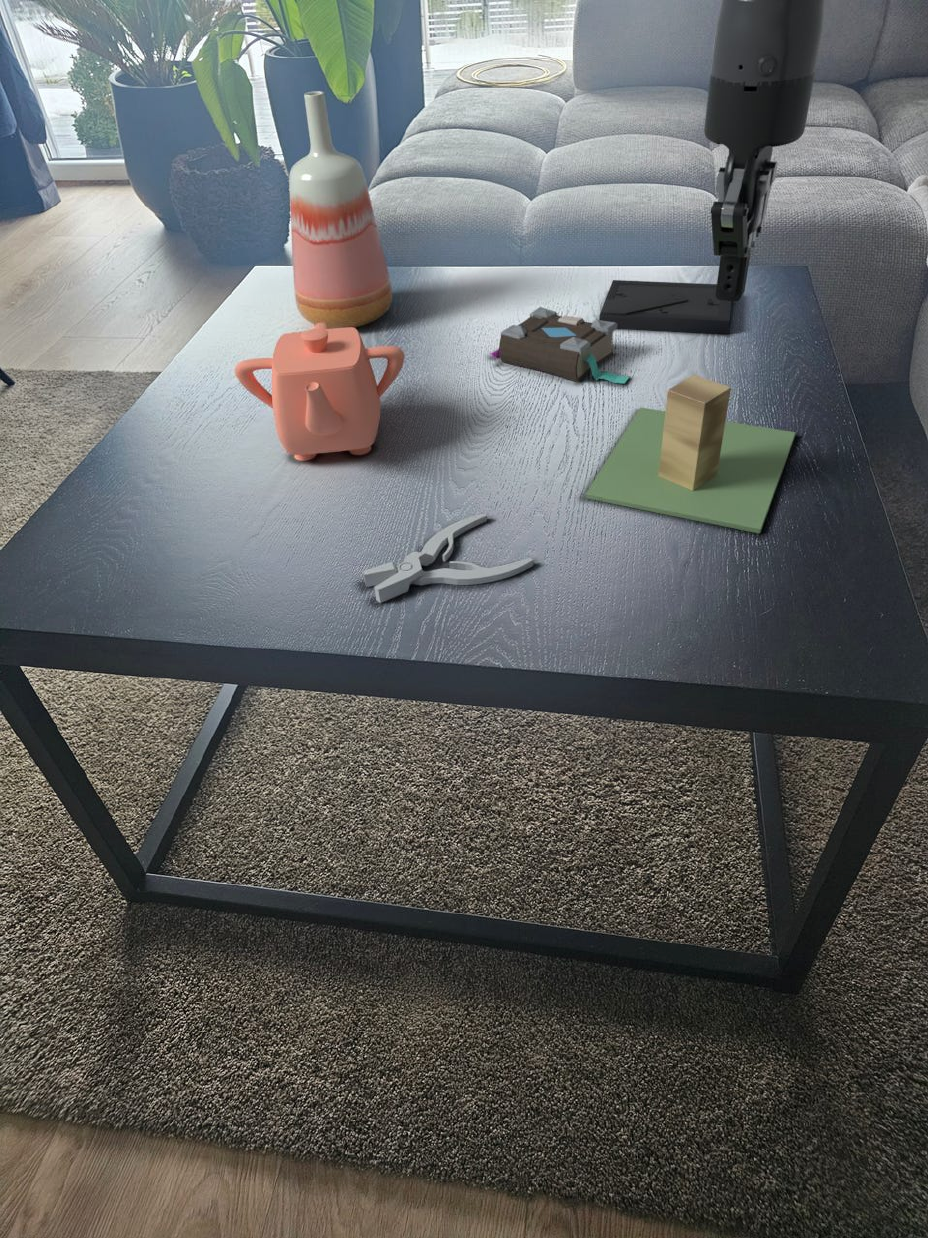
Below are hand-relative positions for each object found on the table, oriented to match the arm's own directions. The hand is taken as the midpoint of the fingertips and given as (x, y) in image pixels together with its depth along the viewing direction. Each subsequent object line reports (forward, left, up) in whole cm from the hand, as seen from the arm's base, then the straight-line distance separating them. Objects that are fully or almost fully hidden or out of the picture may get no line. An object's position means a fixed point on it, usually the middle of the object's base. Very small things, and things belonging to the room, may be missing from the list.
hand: (729, 297), depth 75 cm
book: (+24, -27, -21) cm, 42 cm away
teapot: (+43, +3, -21) cm, 48 cm away
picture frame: (+16, -46, -21) cm, 53 cm away
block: (+2, -3, -20) cm, 21 cm away
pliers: (+20, +20, -21) cm, 35 cm away
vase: (+61, -30, -21) cm, 71 cm away
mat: (+2, -6, -21) cm, 22 cm away
